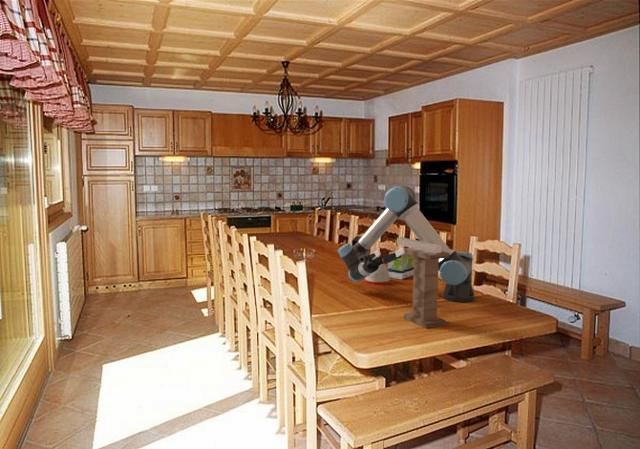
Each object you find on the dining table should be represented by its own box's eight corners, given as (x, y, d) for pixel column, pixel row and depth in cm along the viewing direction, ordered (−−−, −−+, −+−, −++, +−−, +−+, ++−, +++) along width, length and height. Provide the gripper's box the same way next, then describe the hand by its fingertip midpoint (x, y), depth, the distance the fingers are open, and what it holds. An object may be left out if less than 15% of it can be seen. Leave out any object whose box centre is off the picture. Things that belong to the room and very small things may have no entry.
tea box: (402, 279, 275) (403, 254, 274) (387, 277, 281) (387, 252, 280) (414, 275, 287) (415, 250, 285) (399, 272, 293) (400, 248, 292)
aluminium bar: (441, 253, 193) (441, 245, 193) (435, 253, 192) (435, 246, 191) (402, 243, 215) (402, 237, 214) (396, 244, 213) (396, 237, 213)
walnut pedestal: (446, 325, 197) (449, 252, 194) (427, 329, 193) (430, 254, 189) (420, 314, 211) (423, 246, 208) (402, 317, 207) (404, 248, 203)
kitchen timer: (374, 278, 280) (374, 252, 278) (394, 281, 271) (395, 255, 269) (360, 282, 269) (360, 255, 267) (381, 286, 260) (382, 259, 258)
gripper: (391, 271, 241) (416, 256, 224) (348, 276, 230) (371, 260, 212) (387, 256, 244) (411, 241, 226) (345, 261, 232) (366, 245, 215)
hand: (392, 250), depth 219 cm, fingers open, 13 cm apart
